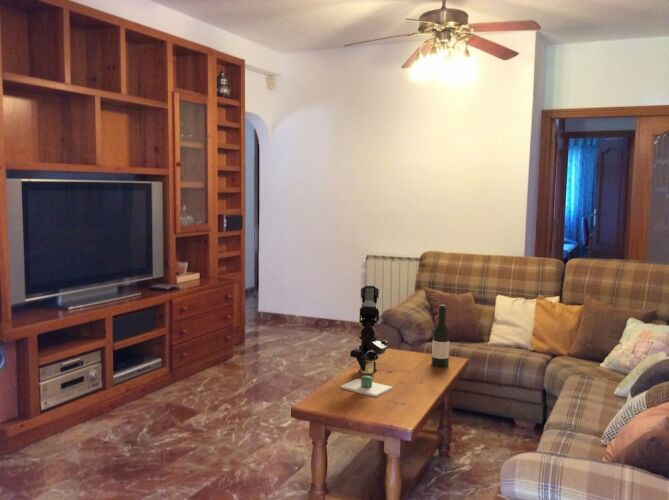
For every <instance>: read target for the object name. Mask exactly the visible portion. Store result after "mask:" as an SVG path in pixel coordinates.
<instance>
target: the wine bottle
mask: <svg viewBox="0 0 669 500" xmlns="http://www.w3.org/2000/svg"><path fill="white" fill-rule="evenodd" d="M446 312H447V307H446V305H445V304H439V306H438V321H437V324H436V326H435V327H434V329H433V331H432V342H431V343H432V345H431V346H432V347H431V365H432V366H433V365H434V366H433V367H436V366H438V367H437V368H446V367H445V366H447V367H449V364H450V363H449V362H450V361H449V360H450V359H449V358H450V343H451V342H450V341H451V340H450V337H451V332H450V330H449V328H448V326H447V324H446V319H447V317H446V315H447V313H446Z"/></svg>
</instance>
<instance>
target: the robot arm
mask: <svg viewBox="0 0 669 500" xmlns="http://www.w3.org/2000/svg"><path fill="white" fill-rule="evenodd" d="M379 292H380V289H379V288H377V287H376V286H375V285H364V286H363V287H362V288H360V298H361V300H362V301H361V307H359V320H358V321H359V324H361V328H360V336H359V338H358V339H359V340H360V341H361V342H360V345H358V348H355V349H351V350H350V351H349V353H350V354H349V356H350V357H351V358H354V359H356V360H357V362H358V365H359V368H360V369H358V370H357V371H358V372H359V373H360V372H361V369H362V371H365V366H366V360H367V359H372V360H374V368H373V373H375V372H377V367H376V366H377V363H376V361H377V360H378V359H379V356H381V355H383V354H385V352H386V350H388V349H389V347H388V341H387V340H382V341H379V340H378V337H377V335H376V324H378V322H379V321H380V319H379V318H380V311H379V309H378V307H377V303H378V299H379V297H380V296H379V294H380V293H379ZM361 373H362V372H361Z"/></svg>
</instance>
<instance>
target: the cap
mask: <svg viewBox="0 0 669 500" xmlns="http://www.w3.org/2000/svg"><path fill="white" fill-rule="evenodd" d="M373 368H374V360H372V359H367V360H366V366H365V371H362V369H361V374H365V375H370V374H374V372H373Z"/></svg>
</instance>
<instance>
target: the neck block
mask: <svg viewBox="0 0 669 500" xmlns="http://www.w3.org/2000/svg"><path fill="white" fill-rule="evenodd" d="M340 388H341V389H343V390H347V391H351V392H354V393H359V394H361V395H362V394H363V395H365V396H369V397H373V398H378V397H379V396H382V395H383V394H385V393H388V392H389V391H391V390H393V387H392V386H390V385H386V384H382V383H378V382H374V381H373V377H372V375H362V376H361V377H360V378H355V379H353V380H350V381H349V382H346V383H343V384H342V385H341V386H340Z"/></svg>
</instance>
